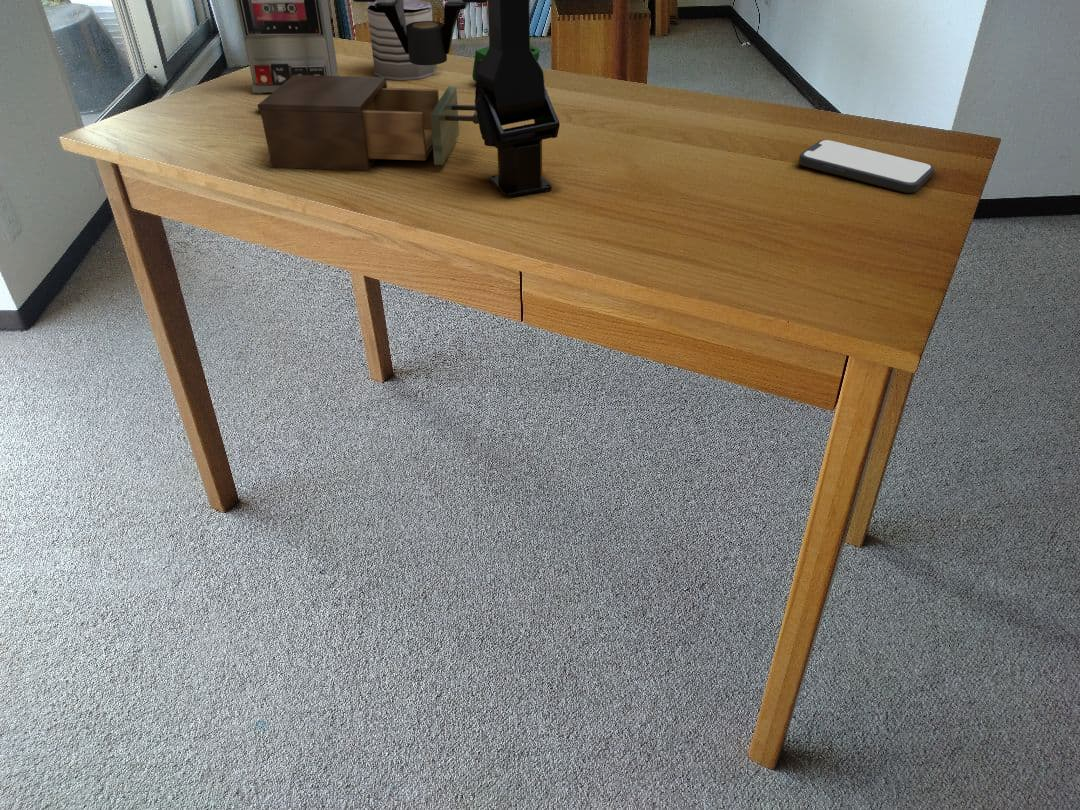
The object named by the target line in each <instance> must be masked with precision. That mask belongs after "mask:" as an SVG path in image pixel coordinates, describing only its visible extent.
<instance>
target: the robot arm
mask: <svg viewBox="0 0 1080 810" xmlns="http://www.w3.org/2000/svg"><path fill="white" fill-rule="evenodd" d="M352 1H353V2H355V3H367V2H375V1H376V2H377V3H376V4H375V8H376V9H382V10H383V12H384V13H385V15H386V17H387V18H388V20H389V21H390V23H391V24H392V26H393V28H394V30H395V32H396V34H397V36H398V38H399V40H400V42H401V44H402V46H403V48H404V50H405V53H406V54H409V52H408V42H407V32H406V20H405V15H404V3H403V0H352ZM471 3H472V4H473V3H475V4H479V3H480V4H481V3H482V4H483V3H487V15H488V16H487V19H488V20H487V21H488V22H487V23H488V42H489V43H488V47H489V49H488V51H487V53H486V55H485V57H484V59H479V60H477V61H476V64H475V76H476V81H475V89H474V94H475V95H474V105H475V107H476V112H477V117H478V122H479V124H478V127H479V132H480V135H481V139H482V140H483V142H484V146H486V147H494V148H496V149H497V174H493V175H489V181H490V182H491V184H493V186H495V188H496V189H497V190H498V191H499V192H500V193H501V194H502V195H503V197H505V198H507V197H508V198H509V197H515V196H522V195H528V194H534V193H540V192H546V191H551V190H552V189H553V185H552V184H551V183H550V182H549V181H548V180H547V179H546V178H545V177H543V141H544V140H547V139H555V138H558V135H559V131H560V125H561V124H560V120H559V117H558V116H557V113H556V111H555V109H554V105H553V104H552V101H551V99H550V96H549V94H548V90H547V89H546V86H545V74H544V70H543V68H542V67H541V65H540V63H539V61H537V60H536V58H535V57H534V55H533V53H532V51H531V49H530V45H531V17H530V16H531V15H530V13H531V11H530V9H531V6H530V0H447V1H446V3H445V4H444V6H443V13H444V14H443V19H444V20H443V24H444V47H445V53H446V54H447V55H448V54H449V53H450V50H451V46H452V41H453V38H454V33H455V28H456V24H457V21H458V18H459V16H460V12H461V10H466V9H467V7H468V5H470V4H471ZM532 120H533V122H534V123H528V124H524V125H523V124H522V125H519V126H513V127H507V128H503V126H506V125H513V124H517V123H522V122H528V121H532Z"/></svg>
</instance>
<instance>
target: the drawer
mask: <svg viewBox="0 0 1080 810" xmlns="http://www.w3.org/2000/svg"><path fill="white" fill-rule="evenodd" d="M457 89H458V88H457V87H456V86H447V88H446V89H445V91H444V93H443V94H442V96H441V97H439V89H438V88H408V87H407V88H405V87H387V88H382V89H381V90H380V91H379V92H378V93H377V94H376V95H375V97H374V98H373V99H372V100H371V101H370V102H369V104H368V105H367V106H366V107H365V108H364V109H363V111H362V112H363V119H364V127H365V134H366V142H367V150H368V157H369V159H377V160H396V161H397V160H400V161H427V159H428V158H429V156H430V154H431V152H432V153H433V163H434V166H443V165H444V164H445V162H446V160H447V158H448V156H449V154H450V153H451V151H452V149H453V147H454V145H455V143H456V142H457V140H458V137H459V135H460V124H459V123H460V122H472V123H473V124H475V125H479V122H478V117H477V112H476V107H475V104H458V92H457ZM459 111H470V112H471V111H473V112H474V113H473V114H472V115H468V114H467V115H465V114H459ZM432 150H433V151H432Z"/></svg>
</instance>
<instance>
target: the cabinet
mask: <svg viewBox="0 0 1080 810" xmlns="http://www.w3.org/2000/svg"><path fill="white" fill-rule="evenodd" d="M382 88H388V84H387V79H386V77H379V76H355V75H354V76H351V75H349V76H348V75H340V76H316V75H293V76H292V77H291V78H290V79H289V80H287V81H286V82H285V83H284V84H283V85H281V86H280V87H279V88H278V89H276V90H275V91H274V92H271V93H270V94H269V95H268V96H267V97H266V98H264V99H263V100H262V101H260V102H261V103H260V102H259V103H260V104H259V103H258V104H259V106H260V111H259V112H260V116H261V120H262V126H263V130H264V136H265V140H266V141H265V142H266V144H267V151H268V155H269V161H270V164H271V168H278V169H305V170H307V169H308V170H331V171H336V170H337V171H338V170H339V171H361V172H363V171H364V172H367V171H368V172H369V171H370V169H371V168H372V167H373V165H374V164H375V162H376V161H377V160H378V159H369V157H368V150H367V142H366V134H365V127H364V119H363V112H362V111H363V109H364V108H365V107H366V106H367V105H368V104H369V102H370V101H371V100H372V99H373V98H374V97H375V95H376V94H377V93H378V92H379V91H380V90H381V89H382Z"/></svg>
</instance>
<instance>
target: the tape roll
mask: <svg viewBox="0 0 1080 810" xmlns="http://www.w3.org/2000/svg"><path fill="white" fill-rule="evenodd" d="M406 32H407V42H408V52H409V61H410V63H412V64H416V65H436V66H437V65H440V64H444V63H446V62H447V61H448V54H446V53H445V47H444V22H442V21H437V20H436V21H435V20H433V21H419V22H413V23H410V24H407V25H406Z"/></svg>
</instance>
